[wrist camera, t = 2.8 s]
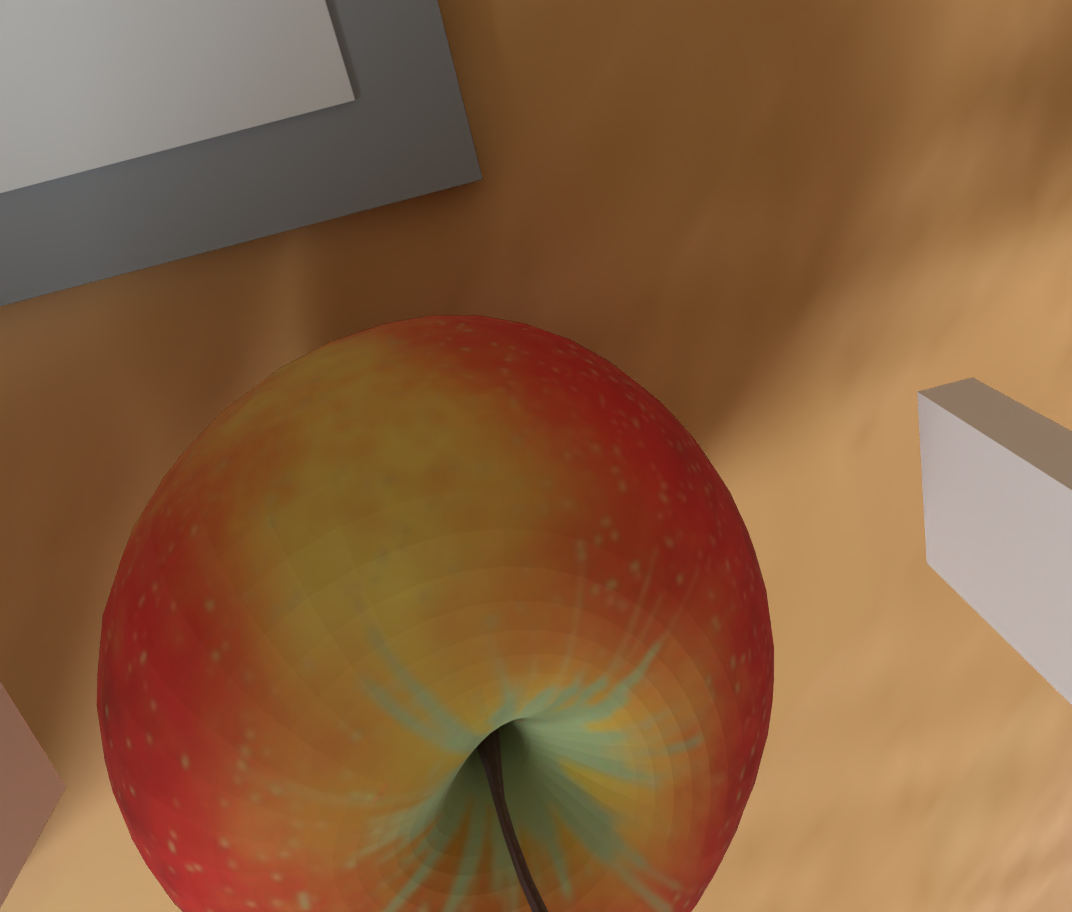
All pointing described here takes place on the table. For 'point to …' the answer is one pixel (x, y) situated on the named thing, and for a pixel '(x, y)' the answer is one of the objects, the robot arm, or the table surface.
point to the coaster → (211, 126)
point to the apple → (438, 639)
